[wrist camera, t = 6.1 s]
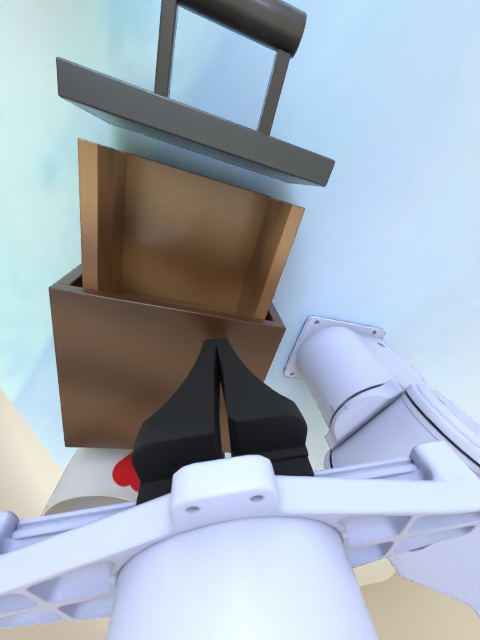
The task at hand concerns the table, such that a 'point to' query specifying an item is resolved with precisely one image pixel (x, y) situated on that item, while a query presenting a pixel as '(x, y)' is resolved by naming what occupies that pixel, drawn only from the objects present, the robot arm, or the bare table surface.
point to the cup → (95, 481)
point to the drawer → (190, 178)
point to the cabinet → (138, 357)
